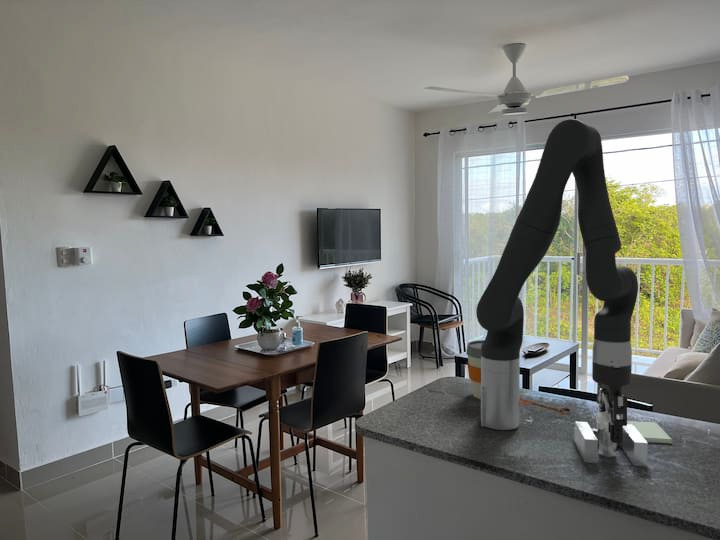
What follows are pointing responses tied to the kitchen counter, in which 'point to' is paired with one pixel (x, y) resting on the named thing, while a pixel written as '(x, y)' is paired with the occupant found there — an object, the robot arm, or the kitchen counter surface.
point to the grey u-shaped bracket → (631, 443)
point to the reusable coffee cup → (475, 366)
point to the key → (527, 402)
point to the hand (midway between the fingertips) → (610, 434)
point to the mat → (651, 432)
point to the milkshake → (605, 435)
